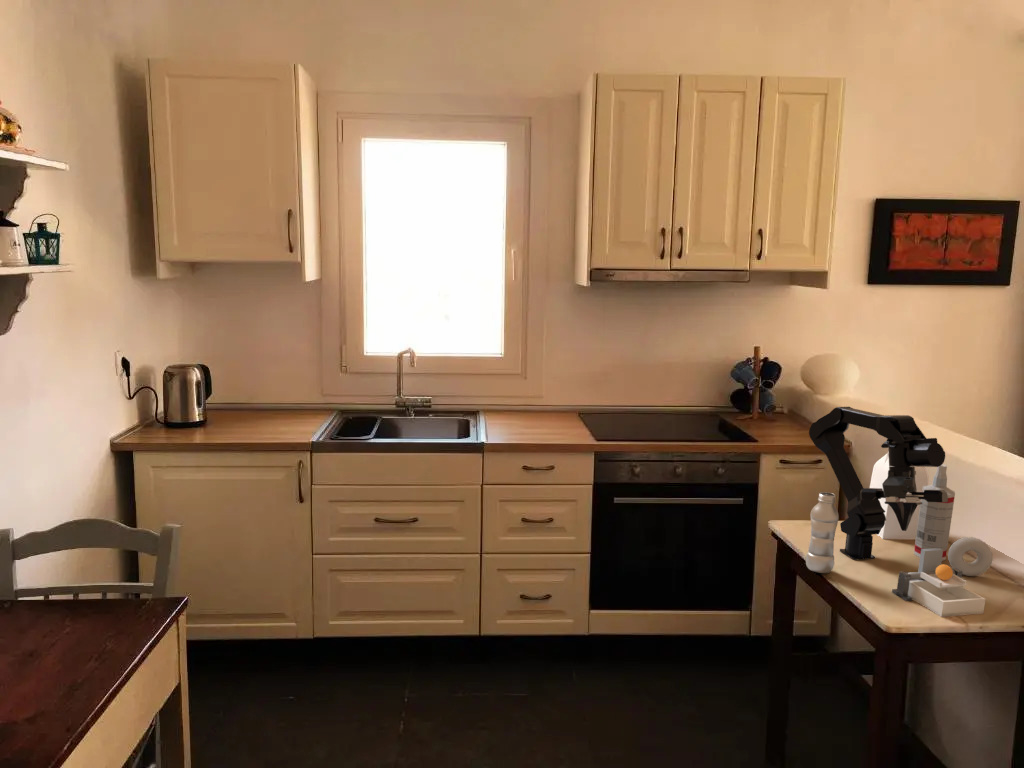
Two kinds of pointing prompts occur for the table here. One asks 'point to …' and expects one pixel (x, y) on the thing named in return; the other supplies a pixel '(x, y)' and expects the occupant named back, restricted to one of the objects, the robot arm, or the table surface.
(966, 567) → the donut
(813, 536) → the plastic bottle
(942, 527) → the spray bottle
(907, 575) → the stand
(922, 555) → the lever
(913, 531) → the milk
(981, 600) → the white storage bin
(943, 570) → the ball
